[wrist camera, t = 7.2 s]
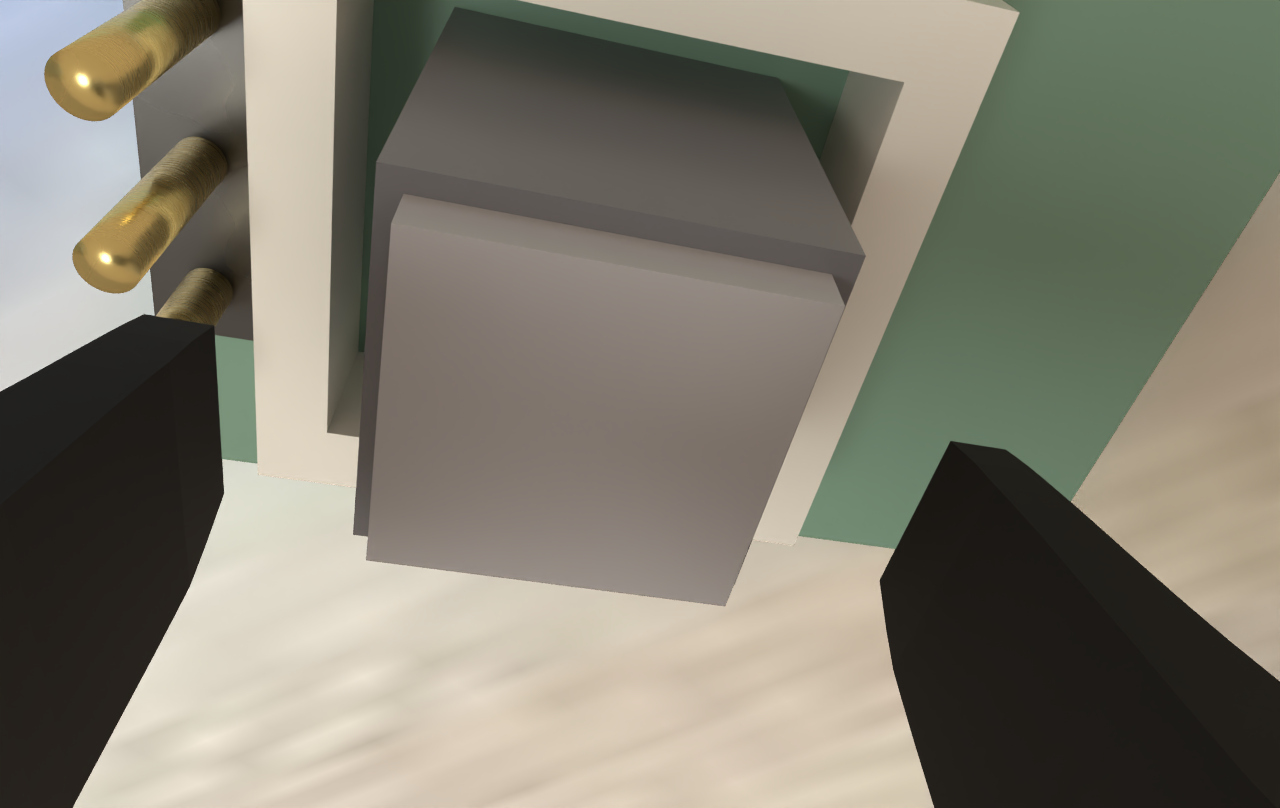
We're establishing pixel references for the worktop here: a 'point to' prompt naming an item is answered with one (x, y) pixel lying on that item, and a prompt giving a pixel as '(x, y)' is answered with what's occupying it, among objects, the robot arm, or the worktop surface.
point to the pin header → (171, 156)
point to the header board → (983, 230)
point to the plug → (590, 312)
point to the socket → (677, 3)
